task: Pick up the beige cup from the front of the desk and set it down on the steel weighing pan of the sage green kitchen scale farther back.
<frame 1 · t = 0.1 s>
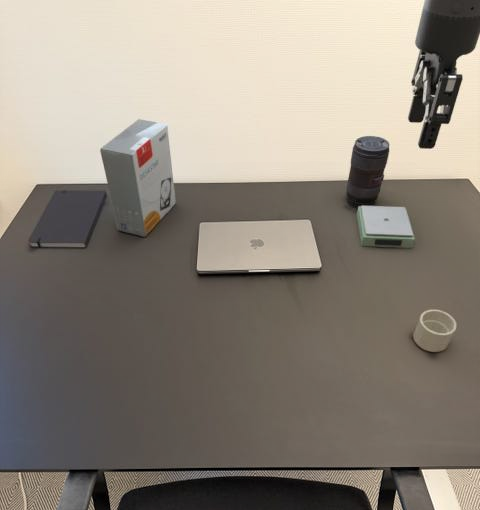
hand: (419, 133, 70), 32 cm above the table, tool pointing down, fingers open, 8 cm apart
scale: (383, 230, 107), on the table
hard drive box: (148, 217, 112), on the table
notebook: (70, 220, 111), on the table
camera lens: (360, 201, 116), on the table
beige cup: (429, 340, 84), on the table
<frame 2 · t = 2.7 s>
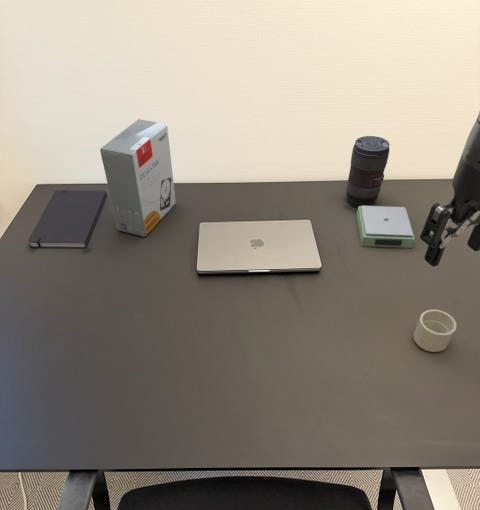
hand: (452, 255, 73), 18 cm above the table, tool pointing down, fingers open, 8 cm apart
nothing on the table moved.
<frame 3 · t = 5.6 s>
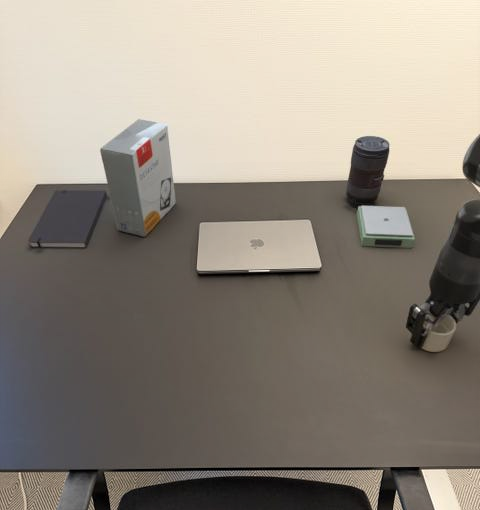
hand: (431, 338, 84), 1 cm above the table, tool pointing down, fingers closed on beige cup, 6 cm apart
beige cup: (429, 340, 84), on the table, touching gripper
everything else where it was.
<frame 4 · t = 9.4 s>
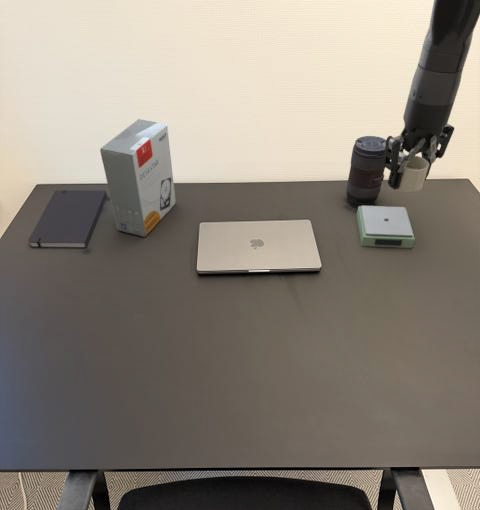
hand: (407, 183, 91), 16 cm above the table, tool pointing down, fingers closed on beige cup, 6 cm apart
beige cup: (406, 186, 92), point 15 cm above the table, touching gripper
everything else where it was.
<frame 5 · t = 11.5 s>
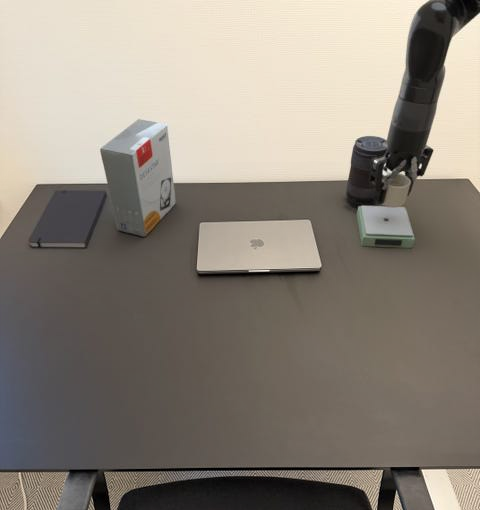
hand: (391, 198, 101), 9 cm above the table, tool pointing down, fingers closed on beige cup, 6 cm apart
beige cup: (390, 200, 101), point 8 cm above the table, touching gripper
everything else where it was.
when the fingers open (4 cm above the table, at t = 13.3 s): beige cup stays where it is, resting on scale.
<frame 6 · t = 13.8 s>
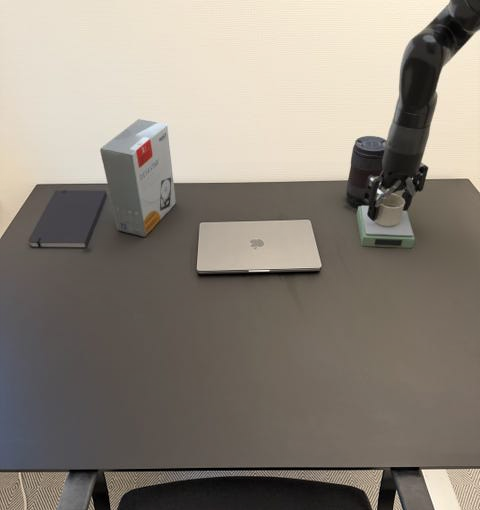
hand: (387, 213, 104), 5 cm above the table, tool pointing down, fingers open, 8 cm apart
beige cup: (385, 219, 105), point 3 cm above the table, touching scale
everything else where it was.
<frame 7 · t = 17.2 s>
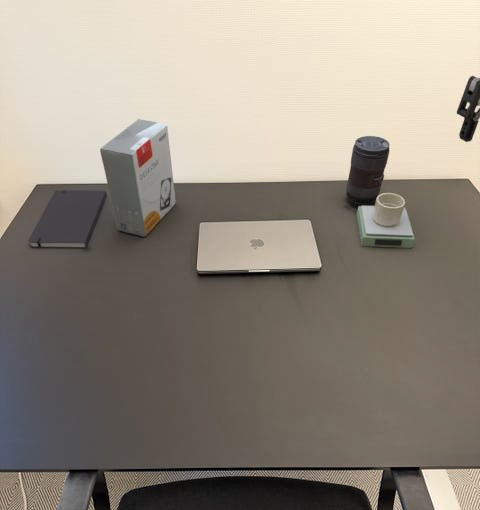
nothing on the table moved.
at the end: beige cup inside the target area on the scale (0.1 cm from its centre), point 3.0 cm above the scale's base; beige cup tilted 0°; the gripper is holding nothing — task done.
